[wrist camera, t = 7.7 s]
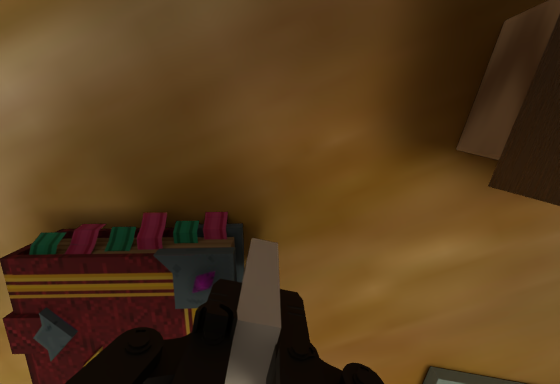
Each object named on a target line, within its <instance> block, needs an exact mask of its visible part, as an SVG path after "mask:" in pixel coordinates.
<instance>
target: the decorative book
mask: <svg viewBox="0 0 560 384" xmlns="http://www.w3.org/2000/svg"><path fill="white" fill-rule="evenodd" d="M227 214H228V212H206V213H205V221H204V224H199V221H176V224H175V227H174V228H165V225H166V218H167V212H144V213H143V219H142V224H141V228H136V227H112V229H101V228H102V227H103V226H105V225H106V224H82V225H81V226H80V227H78V228H77V229H61V230H59V231H57V232H54V233H41V234H40V235H39V236H38V237H37V238H36V240H35V241H34V242H33V243H31V244H29V245H27V246H25V247H23V248H21V249H19V250H17V251H15V252H13V253H10V254H8V255H6V256H4V257H2V258H0V262H1V266H2V270H3V274H4V277H5V281H6V285H7V289H8V293H9V296H10V300H11V304H12V308H13V312H11V313H10V314H8V315H7V316H6V317H4V318H3V322H4V325H5V329H6V333H7V336H8V340H9V343H10V347H11V351H12V354H25V357H26V360H27V364H28V368H29V372H30V376H31V379H32V383H33V384H65V383H66V382H67V381H68V380H69V379H70V378H71V377H73V376H74V375H75V374H76V373H77V372H78V371H79V370H81V369H82V368H83V367H84V366H85V365H86V364H87V363H89V362H90V361H91V360H92V359H93V358H94V357H95V356H96V355H98V354H99V353H100V352H101V351H102V350H103V349H104V348H106V347H107V346H108V345H109V344H110V343H111V342H112V341H114V340H115V339H116V338H117V337H118V336H119V335H121V334H122V333H124V332H126V331H127V330H130V329H133V328H138V327H148V328H153V329H155V330H157V331H158V332H160V334H161V335H162V337H163V340H164V339H175V338H180V337H183V336H186V335H188V334H189V333H191V332H192V328H193V323H194V317H195V312H196V310H197V308H198V307H199V306H200V305H202V304H204V303H206V302H207V300H208V297H209V294H210V292H211V289H212V286H213V284H214V283H215V282H217V281H218V280H219V279H220V278H221V279H226V280H231V281H236V282H241V283H242V279H243V275H244V240H243V223H241V224H227Z"/></svg>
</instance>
